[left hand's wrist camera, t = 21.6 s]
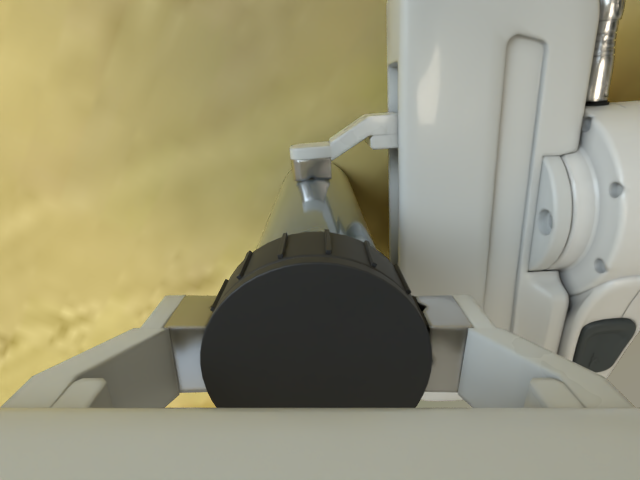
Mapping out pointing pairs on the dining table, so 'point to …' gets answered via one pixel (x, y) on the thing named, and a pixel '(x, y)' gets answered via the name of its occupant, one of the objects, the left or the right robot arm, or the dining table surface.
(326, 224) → the jar
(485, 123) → the right robot arm
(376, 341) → the lid
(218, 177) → the dining table surface
